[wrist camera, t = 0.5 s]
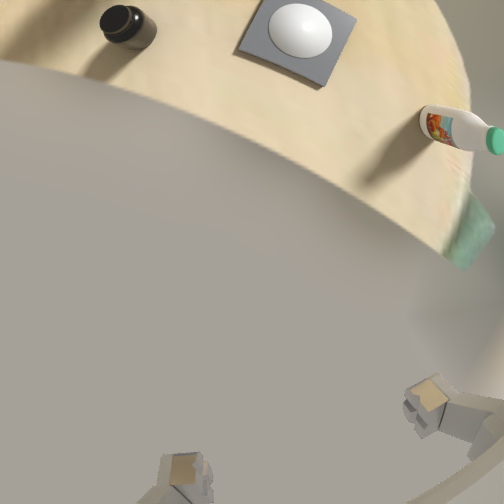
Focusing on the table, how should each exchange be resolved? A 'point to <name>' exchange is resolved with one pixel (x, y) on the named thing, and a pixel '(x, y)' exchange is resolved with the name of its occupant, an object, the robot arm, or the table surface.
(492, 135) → the milk bottle
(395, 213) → the table surface
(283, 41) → the charging pad
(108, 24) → the supplement bottle
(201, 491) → the robot arm
